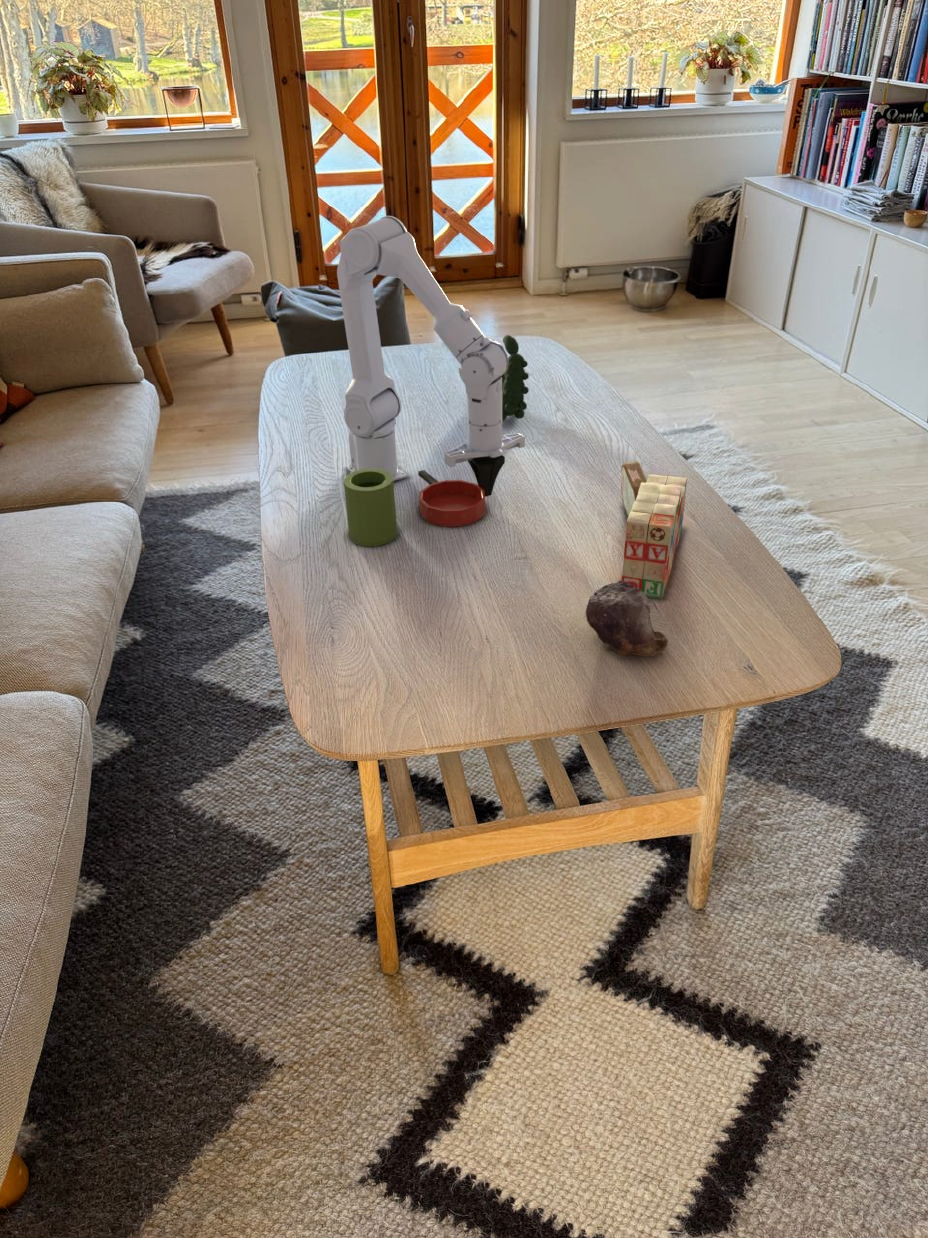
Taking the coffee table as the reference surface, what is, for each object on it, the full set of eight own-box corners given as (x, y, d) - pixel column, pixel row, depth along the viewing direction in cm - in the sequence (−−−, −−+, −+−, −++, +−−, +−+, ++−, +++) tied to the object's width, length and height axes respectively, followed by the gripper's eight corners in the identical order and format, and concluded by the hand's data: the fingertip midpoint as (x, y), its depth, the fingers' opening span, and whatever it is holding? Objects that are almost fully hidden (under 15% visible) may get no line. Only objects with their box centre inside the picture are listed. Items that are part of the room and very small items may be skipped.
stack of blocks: (643, 524, 155) (650, 455, 148) (682, 529, 154) (691, 460, 146) (619, 593, 139) (626, 519, 132) (662, 600, 137) (671, 526, 130)
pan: (497, 515, 159) (497, 499, 157) (439, 533, 154) (439, 517, 153) (448, 477, 171) (448, 461, 169) (394, 492, 166) (392, 477, 165)
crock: (341, 530, 156) (335, 475, 150) (384, 518, 159) (379, 464, 153) (361, 551, 150) (356, 495, 144) (405, 538, 153) (401, 482, 148)
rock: (636, 623, 134) (570, 635, 132) (638, 568, 131) (571, 579, 128) (676, 659, 124) (606, 673, 122) (679, 601, 121) (607, 614, 118)
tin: (653, 541, 150) (657, 494, 146) (633, 542, 150) (636, 495, 146) (635, 497, 163) (638, 452, 158) (617, 498, 163) (619, 453, 158)
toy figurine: (538, 434, 189) (497, 380, 207) (543, 344, 176) (499, 295, 195) (493, 441, 186) (456, 386, 205) (496, 351, 174) (456, 300, 192)
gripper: (458, 438, 149) (460, 514, 156) (535, 417, 154) (533, 492, 162) (436, 422, 154) (440, 497, 162) (512, 403, 159) (511, 476, 167)
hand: (485, 493), depth 162 cm, fingers closed
